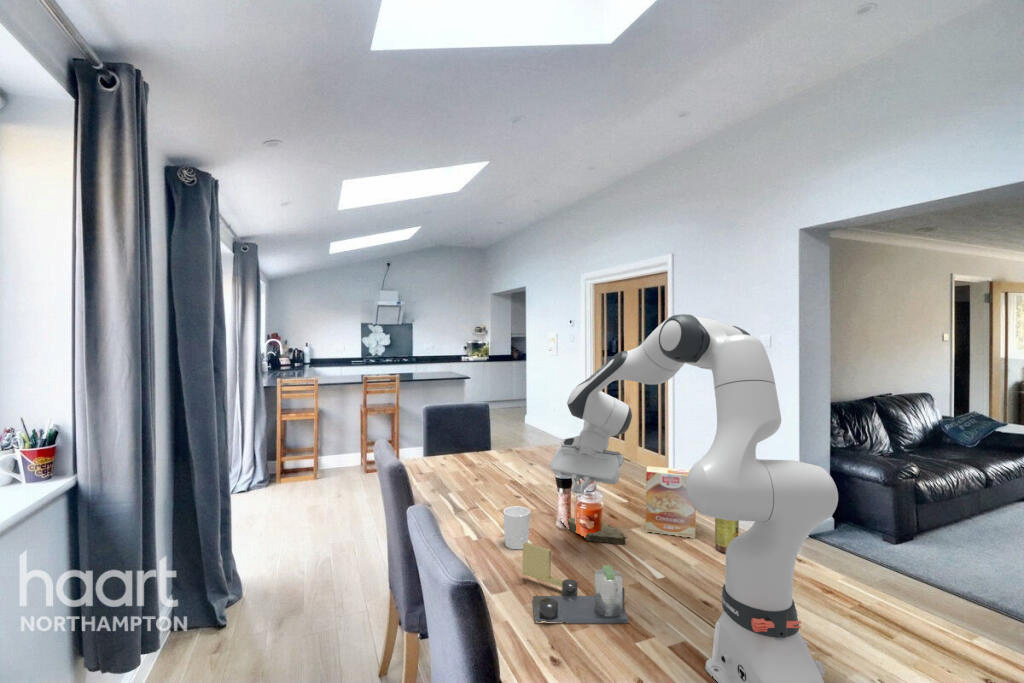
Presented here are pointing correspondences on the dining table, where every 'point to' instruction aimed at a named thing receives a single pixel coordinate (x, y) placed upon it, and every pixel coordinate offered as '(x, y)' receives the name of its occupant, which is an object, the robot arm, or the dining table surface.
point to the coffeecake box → (668, 503)
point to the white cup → (516, 526)
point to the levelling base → (586, 602)
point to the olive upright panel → (544, 568)
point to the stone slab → (602, 533)
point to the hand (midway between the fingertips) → (577, 492)
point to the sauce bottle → (725, 533)
